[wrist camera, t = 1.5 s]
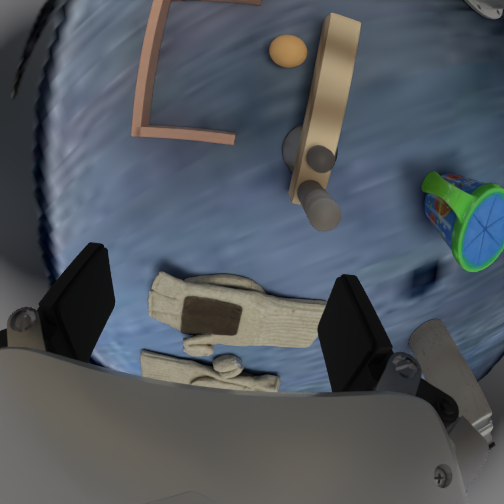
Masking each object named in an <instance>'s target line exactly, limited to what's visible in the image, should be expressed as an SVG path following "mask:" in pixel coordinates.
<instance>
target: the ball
mask: <svg viewBox="0 0 504 504" xmlns="http://www.w3.org/2000/svg"><path fill="white" fill-rule="evenodd" d="M269 53H270V56H271V58H272V60H273V61H274V62H275V63H276V64H278V65H280V66H282V67H286V68H293V67H296V66H299V65H300V64H302V63H303V62H304V60H305V59H306V56H307V48H306V45H305V44H304V42H303V41H302V40H301V39H300V38H298V37H296V36H293V35H282V36H279V37H277V38H275V39H274V40H273V41H272V43H271V45H270V48H269Z"/></svg>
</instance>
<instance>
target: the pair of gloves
mask: <svg viewBox="0 0 504 504" xmlns="http://www.w3.org/2000/svg"><path fill="white" fill-rule="evenodd" d="M151 289H153V290H149V299H148V302H149V307H148V309H149V316H150V317H152V318H154V319H156V320H158V321H160V322H163V323H166V324H168V325H170V326H171V327H173V328H176V329H178V330H180V331H181V332H182V333H184V334H189V335H193V336H191V337H187V338H183V344H184V347H183V351H184V352H186V353H188V354H189V355H191V356H204V355H206V356H209V355H211V354H213V353H214V348H213V347H212V346H211V345H215V344H226V345H234V346H249V345H256V346H262V345H267V346H278V347H279V346H281V347H294V348H301V347H309V346H310V345H311V344H312V343H313V341H314V340H315V339H316V338H317V337H318V332H317V327H318V324H319V321H320V319H321V316H322V314H323V312H324V309H325V307H326V304H327V302H326V301H323V300H311V299H310V300H308V299H295V298H294V299H291V298H290V299H288V298H279V297H275V296H272V295H267V294H266V292H265V290H264V289H263V288H262V287H261V286H260V285H259V284H257V283H255V282H254V281H253V280H251V279H249V278H246V277H240V276H237V275H230V274H217V275H202V276H198V277H190V278H186V279H185V280H184V281H183V280H181V279H178V278H175V277H173V276H171V275H170V274H168V273H165V272H163V271H160V272H159V274H158V276H156V278H155V280H154V282H153V285H152V288H151ZM140 359H141V361H140V363H141V369H142V377H148V378H153V379H158V380H164V381H169V382H176V383H182V384H189V385H196V386H204V387H212V388H221V389H232V390H245V391H260V392H261V391H263V392H278V389H279V384H280V382H281V381H280V377H279V376H274V375H262V376H253V375H251V374H249V373H245V372H241V371H242V370H243V369H244V367H243V365H242V362H241V361H240V359H239V358H237V357H236V356H234V355H231V354H226V355H222V356H220V357H218V358H216V359H215V360H214V361H213V366H206V365H202V364H200V363H197V362H195V361H192V360H184V359H178V358H175V357H171V356H167V355H163V354H158V353H154V352H150V351H147V350H142V351H141V356H140Z"/></svg>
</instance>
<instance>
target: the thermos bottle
mask: <svg viewBox="0 0 504 504" xmlns="http://www.w3.org/2000/svg"><path fill="white" fill-rule="evenodd" d="M409 346H410V348H411V350H412V352H413V354H414V356H415V358H416V360H417V361H418V363H419V364H420V366H421V370H422V373H423V375H424V377H425V379H426V381H427V382H428V383H430V384H432V385H433V386H435V387H436V388H438V389H440V390H441V391H443V392H445V393H446V394H448V395H450V396H451V397H452V398H453V399H454V400H455V401H456V403H457V405H458V408H459V417H461V416H462V415H463V416H464V417H465V418H466V419H467V420H468V421H469V422H470V424H471V425H472V426H473V427H474V428H475V429H476V430H477V431H478V432H479V433H480V434H481V435H482V436H483V437H484V438H485V439H486V441H487V442H488V445H489V450H490V449H491V448H493V447H494V446H495V443H494V442H492V437H491V434H490V432H491V430H492V428H493V425H492V420H490V416H491V415H492V412H491V409H490V407H489V405H488V403H487V401H486V399H485V397H484V395H483V393H482V391H481V389H480V387H479V385H478V383H477V381H476V379H475V377H474V375H473V373H472V372H471V370H470V368H469V366H468V364H467V363H466V361H465V359H464V358H463V356H462V355H461V353H460V351H459V349H458V348H457V346H456V344H455V342H454V340H453V339H452V337H451V336H450V334H449V332H448V331H447V329H446V328H445V326H444V325H443V323H442V321H440V320H438V319H433V320H430V321H427V322H425V323H424V324H422V325H421V326H419V327H418V328H417V329H416V330H415V331H414V332H413V334H412V335H411V337H410V339H409Z"/></svg>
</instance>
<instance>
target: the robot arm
mask: <svg viewBox="0 0 504 504" xmlns="http://www.w3.org/2000/svg"><path fill="white" fill-rule="evenodd" d="M464 1H465V2H466V3H467V4H468V5H469V6H470V7H471V8H472V9H473V10H475V11H476V12H477V13H478V14H480V15H481V16H483V17H485V18H488V19H498V18H500V17H501V15H502V11H503V9H504V0H464ZM39 306H40V307H39V308H38V310H36V309H34V308H32V307H22V308H20V309H17V310H16V311H14V312H13V313H12V314H11V315H10V317H9V318H8V321H7V329H4V330H1V331H0V504H468V501H467V496H466V492H467V491H468V489H469V488H470V486H471V485H472V483H473V481H474V480H475V478H476V476H477V475H478V473H479V471H480V469H481V468H482V466H483V464H484V462H485V460H486V459H487V456H488V454H489V445H488V442H487V441H486V439H485V438H484V437H483V436H482V435H481V434H480V433H479V432H478V431H477V430H476V429H475V428H474V427H473V426H472V425H471V424H470V422H469V421H468V420H467V419H466V418H465V417H464V416H463V415H462V416H461V417H459V408H458V405H457V403H456V401H455V400H454V399H453V398H452V397H451V396H450V395H448V394H446V393H445V392H443V391H441V390H440V389H438V388H436V387H435V386H433V385H432V384H430V383H428V382H427V381H425V380H424V379H422V378H421V374H422V370H421V366H420V364H419V363H418V361H417V360H416V359H415V358H414V357H413V356H411V355H409V354H407V353H404V352H397V353H393V351H392V347H393V346H392V344H391V342H390V340H389V338H388V336H387V334H386V332H385V330H384V328H383V326H382V324H381V322H380V320H379V318H378V316H377V314H376V312H375V310H374V308H373V306H372V304H371V302H370V300H369V298H368V296H367V294H366V293H365V291H364V289H363V287H362V285H361V283H360V281H359V280H358V278H357V276H355V275H347V274H343V275H341V277H338V278H337V279H336V281H335V284H334V286H333V289H332V292H331V294H330V297H329V299H328V302H327V304H326V307H325V309H324V312H323V314H322V316H321V319H320V321H319V324H318V327H317V332H318V336H319V340H320V344H321V348H322V352H323V356H324V360H325V364H326V368H327V372H328V376H329V380H330V384H331V388H332V392H319V393H287V392H260V391H245V390H232V389H221V388H212V387H204V386H196V385H189V384H182V383H176V382H169V381H164V380H158V379H153V378H148V377H142V376H138V375H133V374H128V373H124V372H120V371H116V370H111V369H108V368H104V367H100V366H96V365H92V364H88V360H89V358H90V356H91V354H92V352H93V349H94V347H95V345H96V343H97V341H98V339H99V337H100V335H101V333H102V331H103V329H104V326H105V324H106V322H107V320H108V318H109V316H110V315H111V313H112V311H113V309H114V306H115V296H114V290H113V284H112V278H111V271H110V264H109V257H108V250H107V248H104V245H103V244H100V243H93V242H90V243H88V245H87V246H86V247H85V248H84V249H83V250H82V251H81V252H80V253H79V255H78V256H77V257H76V258H75V259H74V260H73V261H72V263H71V264H70V265H69V266H68V267H67V269H66V270H65V271H64V272H63V273H62V274H61V276H60V277H59V278H58V279H57V281H56V282H55V283H54V284H53V286H52V287H51V288H50V289H49V291H48V292H47V293H46V295H45V296H44V297H43V299H42V300H41V301H40V303H39Z"/></svg>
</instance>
